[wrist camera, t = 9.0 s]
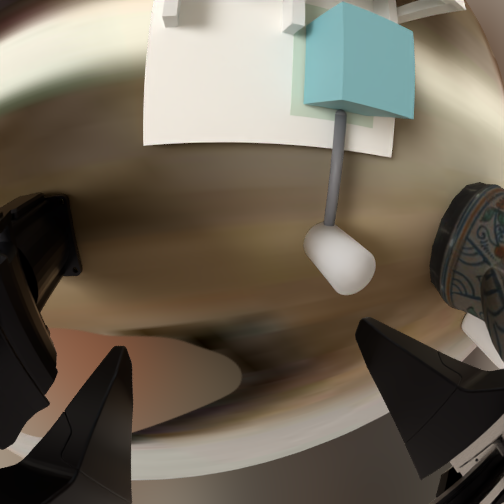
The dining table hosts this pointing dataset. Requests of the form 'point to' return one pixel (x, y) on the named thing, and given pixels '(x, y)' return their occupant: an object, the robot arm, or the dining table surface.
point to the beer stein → (473, 257)
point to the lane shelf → (251, 73)
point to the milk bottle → (481, 338)
